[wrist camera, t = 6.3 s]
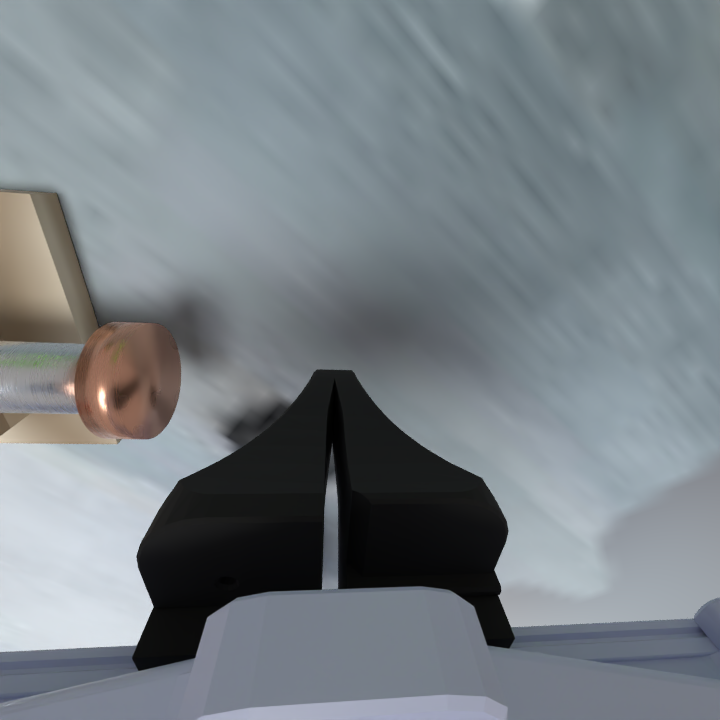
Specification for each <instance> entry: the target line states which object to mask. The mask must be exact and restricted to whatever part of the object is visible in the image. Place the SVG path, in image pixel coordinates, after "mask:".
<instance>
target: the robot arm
mask: <svg viewBox="0 0 720 720" xmlns="http://www.w3.org/2000/svg"><path fill="white" fill-rule="evenodd" d="M332 444H333V454H334V464H335V474H336V484H337V494H338V589H332V590H322V568H323V536H324V507H325V495H326V487H327V479H328V471H329V463H330V455H331V447H332ZM507 535H508V526H507V521H506V519H505V517H504V515H503V513H502V511H501V509H500V507H499V505H498V503H497V502H496V500H495V498H494V496H493V495H492V493H491V492H490V490H489V489H488V487H487V485H486V484H485V482H484V481H483V479H482V478H480V477H478V476H476V475H474V474H472V473H470V472H468V471H466V470H464V469H462V468H460V467H458V466H455V465H453V464H451V463H450V462H448V461H446V460H444V459H443V458H441V457H439V456H437V455H436V454H434V453H432V452H431V451H429V450H428V449H426V448H425V447H423V446H421V445H420V444H419V443H417V442H416V441H415V440H413V439H412V438H410V437H409V436H408V435H406V434H405V433H404V432H403V431H401V430H400V429H399V428H398V427H397V426H396V425H395V424H394V423H392V422H391V421H390V420H389V419H388V418H387V417H386V416H385V415H384V413H383V412H382V411H381V410H380V409H379V408H378V407H377V405H376V404H375V403H374V402H373V401H372V399H371V398H370V397H369V395H368V394H367V393H366V391H365V390H364V388H363V387H362V385H361V384H360V382H359V381H358V379H357V377H356V375H355V373H354V372H353V371H352V370H316V371H315V372H314V373H313V375H312V377H311V379H310V381H309V382H308V384H307V385H306V387H305V388H304V389H303V391H302V392H301V393H300V395H299V396H298V397H297V399H296V400H295V401H294V402H293V403H292V405H291V406H290V407H289V408H288V409H287V410H286V411H285V412H284V413H283V414H282V415H281V416H280V417H279V418H278V419H277V420H276V421H275V422H274V423H273V424H272V425H271V426H270V427H269V428H268V429H266V430H265V431H264V432H263V433H261V434H260V435H259V436H257V437H256V438H255V439H253V440H252V441H251V442H249V443H248V444H246V445H245V446H243V447H242V448H240V449H239V450H237V451H235V452H234V453H232V454H230V455H229V456H227V457H225V458H223V459H222V460H220V461H218V462H216V463H214V464H212V465H210V466H208V467H206V468H204V469H202V470H200V471H198V472H196V473H194V474H192V475H190V476H188V477H185V478H183V479H181V480H179V481H178V483H177V484H176V486H175V487H174V489H173V490H172V492H171V493H170V494H169V496H168V497H167V498H166V500H165V502H164V503H163V505H162V506H161V508H160V509H159V511H158V513H157V515H156V516H155V518H154V520H153V522H152V524H151V526H150V527H149V529H148V531H147V533H146V535H145V537H144V538H143V540H142V542H141V544H140V546H139V550H138V553H137V556H136V557H137V563H138V568H139V571H140V573H141V576H142V578H143V581H144V583H145V586H146V588H147V591H148V593H149V596H150V598H151V601H152V603H153V606H154V608H153V610H152V612H151V614H150V617H149V619H148V621H147V624H146V626H145V628H144V631H143V633H142V635H141V638H140V640H139V642H138V644H137V646H118V647H97V648H77V649H56V650H35V651H15V652H0V720H720V598H716V599H714V600H711V601H709V602H707V603H706V604H704V605H703V606H702V607H701V608H700V609H699V610H698V611H697V613H696V614H695V616H694V619H675V620H655V621H636V622H635V621H634V622H613V623H593V624H574V625H573V624H572V625H551V626H531V627H511V626H510V624H509V622H508V619H507V617H506V614H505V612H504V609H503V607H502V604H501V602H500V599H499V597H498V595H500V593H501V585H500V583H499V581H498V578H497V576H496V573H495V571H494V569H495V566H496V564H497V562H498V559H499V557H500V555H501V552H502V550H503V548H504V545H505V543H506V539H507Z"/></svg>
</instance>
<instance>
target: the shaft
mask: <svg viewBox="0 0 720 720" xmlns="http://www.w3.org/2000/svg"><path fill="white" fill-rule="evenodd" d="M180 385H181V363H180V356H179V352H178V348H177V345H176V342H175V340H174V338H173V336H172V335H171V333H170V332H169V331H168V330H167V329H166V328H165V327H164V326H162V325H160V324H156V323H136V322H111V323H107V324H105V325H103V326H101V327H100V328H99V329H97V330H96V331H95V332H94V333H93V334H92V335H91V337H90V338H89V339H88V341H87V342H86V344H73V343H45V342H17V341H0V413H43V414H79V416H80V418H81V420H82V422H83V423H84V425H85V426H86V428H87V429H88V430H89V431H90V432H91V433H93V434H94V435H95V436H98V437H100V438H104V439H151V438H154V437H156V436H157V435H158V434H160V433H161V432H162V431H163V430H164V429H165V427H166V426H167V425H168V423H169V421H170V420H171V418H172V416H173V413H174V411H175V408H176V405H177V401H178V397H179V392H180Z"/></svg>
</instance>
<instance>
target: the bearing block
mask: <svg viewBox="0 0 720 720" xmlns="http://www.w3.org/2000/svg"><path fill="white" fill-rule="evenodd" d="M97 329H99V326H98V323H97V320H96V316H95V313H94V310H93V307H92V304H91V301H90V298H89V294H88V291H87V288H86V285H85V282H84V279H83V275H82V272H81V269H80V266H79V263H78V260H77V257H76V253H75V250H74V247H73V244H72V241H71V238H70V235H69V231H68V228H67V225H66V222H65V219H64V216H63V212H62V209H61V206H60V203H59V200H58V197H57V194H56V193H45V192H32V191H18V190H5V189H0V341H17V342H45V343H73V344H86V342H87V341H88V339H89V338H90V337H91V335H92V334H93V333H94V332H95V331H96V330H97ZM121 440H122V439H104V438H100V437H98V436H95V435H94V434H93V433H91V432H90V431H89V430H88V429H87V428H86V426H85V425H84V423H83V422H82V420H81V418H80V416H79V414H43V413H0V443H50V444H118V443H119V442H120V441H121Z"/></svg>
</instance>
